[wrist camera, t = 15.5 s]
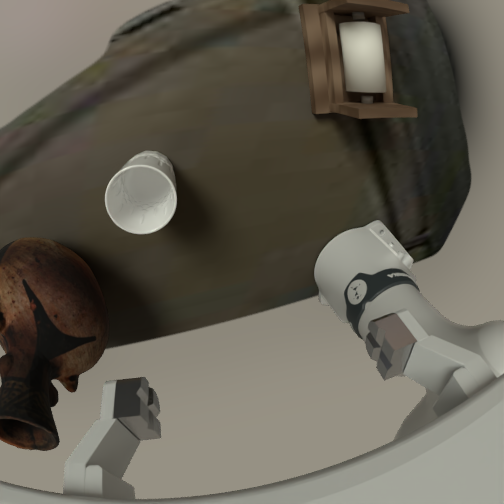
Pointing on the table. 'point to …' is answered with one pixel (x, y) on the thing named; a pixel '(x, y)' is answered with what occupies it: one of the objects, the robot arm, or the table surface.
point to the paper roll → (363, 57)
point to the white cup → (142, 193)
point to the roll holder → (331, 58)
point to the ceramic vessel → (44, 335)
